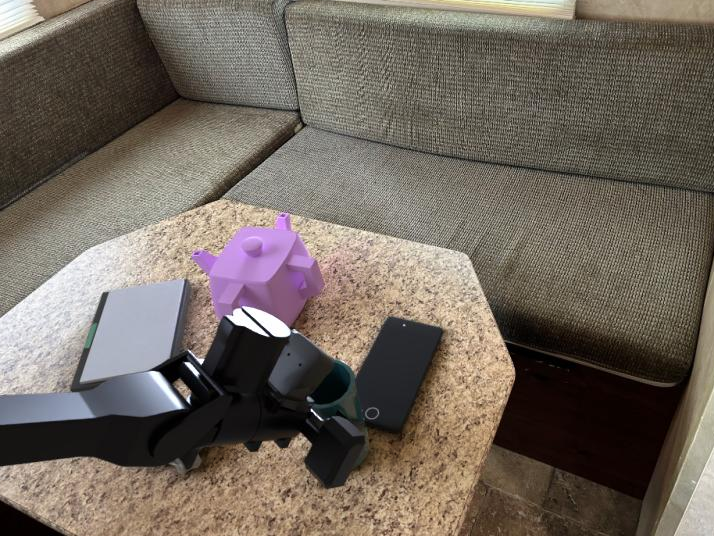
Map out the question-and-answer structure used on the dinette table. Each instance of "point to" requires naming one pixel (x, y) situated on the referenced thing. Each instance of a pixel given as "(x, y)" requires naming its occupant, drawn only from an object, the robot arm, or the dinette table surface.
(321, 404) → the tumbler
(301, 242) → the teakettle
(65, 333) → the dinette table surface
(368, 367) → the cell phone
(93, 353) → the scale
